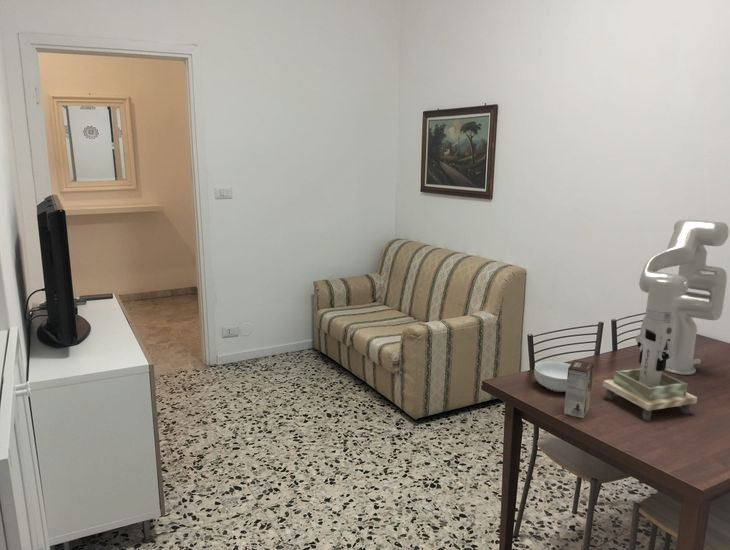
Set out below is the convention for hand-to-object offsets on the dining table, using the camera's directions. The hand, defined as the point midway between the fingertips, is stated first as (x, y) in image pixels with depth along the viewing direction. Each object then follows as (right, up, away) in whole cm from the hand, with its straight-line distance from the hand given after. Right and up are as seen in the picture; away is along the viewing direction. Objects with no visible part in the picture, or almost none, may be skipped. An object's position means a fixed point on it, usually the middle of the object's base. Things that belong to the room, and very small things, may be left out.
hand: (651, 366), depth 185 cm
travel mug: (0, -7, +2) cm, 7 cm away
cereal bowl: (-26, -11, +16) cm, 32 cm away
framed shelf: (0, -14, +3) cm, 14 cm away
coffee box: (-26, -15, -2) cm, 30 cm away
